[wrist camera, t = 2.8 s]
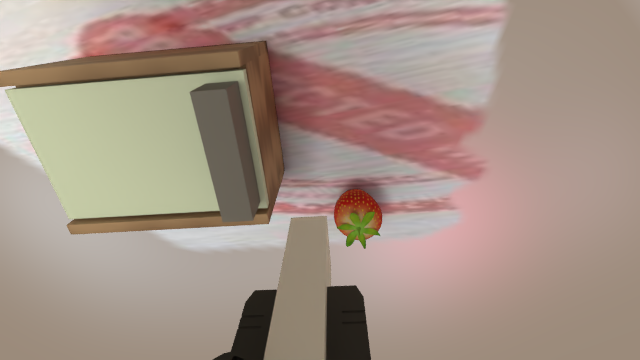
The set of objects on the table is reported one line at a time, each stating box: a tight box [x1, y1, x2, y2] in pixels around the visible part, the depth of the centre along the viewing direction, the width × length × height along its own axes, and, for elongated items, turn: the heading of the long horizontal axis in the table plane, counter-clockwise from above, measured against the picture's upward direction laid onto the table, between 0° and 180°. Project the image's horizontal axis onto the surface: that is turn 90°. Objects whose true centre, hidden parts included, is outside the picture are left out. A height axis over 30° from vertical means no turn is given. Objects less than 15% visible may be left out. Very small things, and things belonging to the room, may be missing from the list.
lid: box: [5, 69, 269, 222], centre depth 25 cm, size 11×18×4 cm, turn 95°
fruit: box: [334, 189, 382, 249], centre depth 36 cm, size 5×5×8 cm
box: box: [0, 41, 285, 234], centre depth 31 cm, size 14×18×11 cm
